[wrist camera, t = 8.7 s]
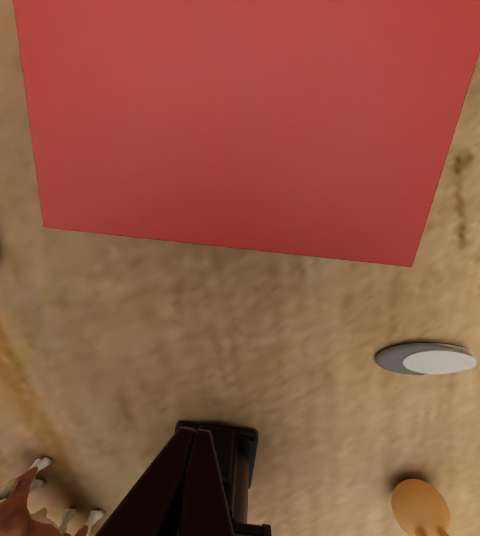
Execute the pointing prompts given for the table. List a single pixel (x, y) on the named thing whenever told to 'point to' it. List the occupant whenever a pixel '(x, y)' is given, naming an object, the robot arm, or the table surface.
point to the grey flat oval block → (426, 358)
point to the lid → (247, 118)
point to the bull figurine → (37, 525)
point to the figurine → (420, 509)
